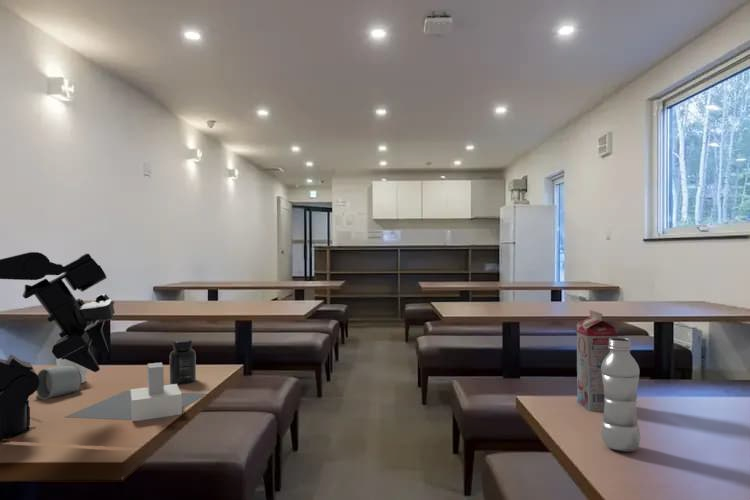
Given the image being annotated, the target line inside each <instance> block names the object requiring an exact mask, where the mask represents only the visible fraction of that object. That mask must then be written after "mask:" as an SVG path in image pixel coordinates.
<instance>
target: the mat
mask: <svg viewBox="0 0 750 500" xmlns="http://www.w3.org/2000/svg"><path fill="white" fill-rule="evenodd" d="M181 394H182V410H183V409H185V408H186V407H188V406H190V405H192V404H194V403H195V402H197V401H198V400H200V399H202V398H203V397H205V396H206V395H208V393H200V392H199V393H197V392H196V393H195V392H181ZM65 418H76V419H99V420H102V419H103V420H121V421H123V420H124V421H132V417H131V390H124V391H121V392H120V393H117V394H115V395H112V396H110V397H108V398H105V399H103V400H101V401H98V402H96V403H94V404H91V405H89V406H87V407H85V408H82V409H79V410H78V411H75V412H73V413H70V414H68V415H66V416H65ZM168 418H170V416H166V417H160V418H153V419H146V420H140V421H143V422H144V421H145V422H146V421H147V422H162V421H164V420H166V419H168Z"/></svg>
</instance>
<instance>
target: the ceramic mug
mask: <svg viewBox="0 0 750 500" xmlns="http://www.w3.org/2000/svg"><path fill="white" fill-rule="evenodd" d="M36 374H37V375H38V377H39V386H38V388H37V390H36V391H35V392H36V394H37V395H38V397H39V398H40V399H41V400H48V399H51V398H56V397H60V396H65V395H71V394H73V393H75V392H78V390H79V389H80V387H81V384H82V383H81V374H80V371H79V370H78V369H77V368H76V367H74V366H63V367H57V366H56V367H55V366H54V367H47V368H42V369H40V370H39V371H38V372H37V373H36Z"/></svg>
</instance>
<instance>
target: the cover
mask: <svg viewBox="0 0 750 500" xmlns="http://www.w3.org/2000/svg"><path fill="white" fill-rule="evenodd" d="M164 370H165V369H164V364H163V362H153V363H151V362H150V363H147V387H139V388H131V389H130V390H129V391H131V417H132V420H131V422H139V421H141V420H146V419H153V418H160V417H166V416H169V417H173V416H178V415H179V416H180V415H182V414H183V412H182V411H183V409H182V394H181V393H182V392H181V390H180V387H179V385H177V384H165V383H164V380H165V379H164V373H165V372H164ZM164 384H165V385H164Z"/></svg>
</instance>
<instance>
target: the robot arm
mask: <svg viewBox="0 0 750 500" xmlns="http://www.w3.org/2000/svg"><path fill="white" fill-rule="evenodd" d="M59 275H60V276H59ZM46 276H57V277H55V278H54V279H52V280H50V281H49V280H48V279H47V278H45V277H46ZM43 278H44V279H43ZM106 279H107V275H106V273H105V271H104V270H103V268H102V266H101V265H99V264H98V263H97V262H96V260H95V259H94V258H92V256H91V254H90V253H85V254H83V255H81V256H79V258H77V259H75V260H73V261H71V262H69V263H67V264H66V265H63V264H62V263H54V262H52V261H50V259H49V258H48V256H46V255H45V254H44V253H41V252H37V251H36V252H35V251H29V252H24V253H20V254H15V255H13V256H11V255H10V256H8V257H4V258H0V280H12V281H13V280H16V281H17V280H18V281H21V280H22V281H37V280H38V282H36V283H35V284H32V285H30V284H25V285H24V291H23V294H22V297H23V298H24V299H28V298H30V297H32V296H35V297H36V299H37V300H38V302H39V303H40V304H41V306H42V307H43V308H44V309H45V312H47V313H48V315H49V316H48V317H47V318H46V319H47V320H48V322H49V323H52V322H54V323H55V324H56V326H57V327H58V329H59V330H60V332H59V333H58V335H59V336H60V338H59V339H58V340H57V341H56V342H55V343H54V344H53V346H52V350H51V353H52V355H54V357H55V359H56V358H57V359H60V358H61V359H63V360H64V359H66V360H69V361H71V362H74V363H76V364H78V365H81V366H83V367H85V368H87V370H89V371H91V372H94V373H97V372H99V371H100V368H101V367H100V366H99V364H98V362H97V360H96V358H95V356H94V355H93V352H92V350H91V346H92V347H93V348H94V349H96V350H97V351H98V352H100V353H101V354H103V355H108V354H109V353H110V350H109V347H108V343H107V341H106V340H107V339H106V338H105V335H104V330H103V327H104V324H105V322H106V321H107V320H111V319H112V318H113V315H115V312H116V311H115V308H114V304H115V301H113V298H110V297H109V296H108V295H107V294H106V293H102V294H98V295H97V296H96V298H95V301H94V300H93V301H91V302H87V303H86V302H84V300H83V299H82V298H81V299H80V298H78V299H77V298H75V296H74V295H73V293H72V291H70V289H69V288H68V286H69V287H70V288H71V289H72V290H73V292H75V291H77V290H78V291H80V292H82V293H83V292H84V291H87V290H88V289H90V288H92V287H94V286H95V285H97V284H99V283H100V282H102V281H105V280H106ZM39 280H40V281H39ZM63 280H65V282H66V283H67V284H68V286H67V285H66V283H65V282H64V281H63ZM37 374H38V373H37V372H36V369H34V367H33V365H32V363H31V362H30V361H24V360H21V359H19V358H18V357H16V356H15V355H13V354H10V355H9V356H8V359H2V358H0V441H4V442H5V441H8V440H10V439H13V438H16V437H18V436H21V435H22V434H24V433H27V432H30V431H32V430H34V429H36V426H31V407H30V403H29V402H30V401H29V397H30V396H32V395H33V394H35V392H37V391H36V390H37V388H38V386H39V377H38V375H37Z"/></svg>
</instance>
